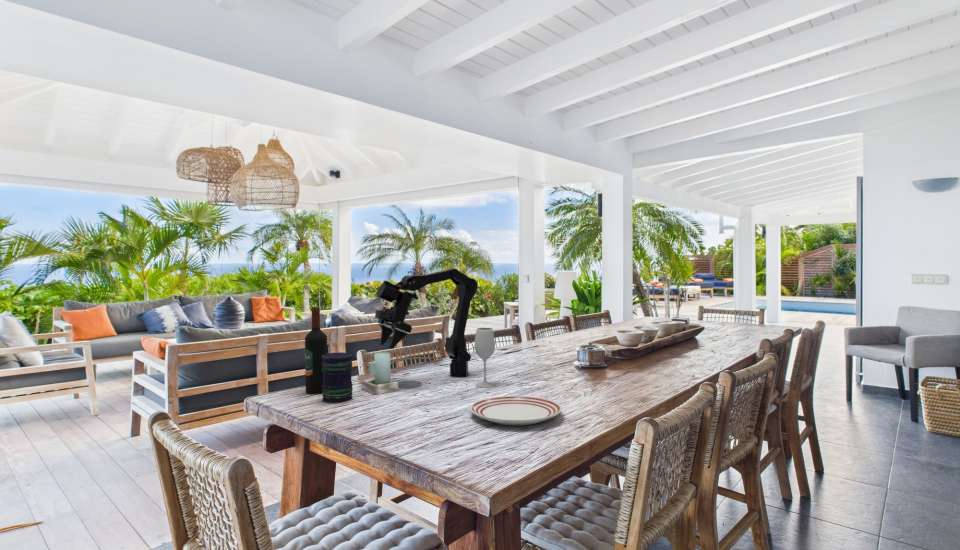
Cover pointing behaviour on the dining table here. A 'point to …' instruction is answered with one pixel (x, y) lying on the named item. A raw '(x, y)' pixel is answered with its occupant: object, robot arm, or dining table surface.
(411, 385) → the grey flat disc
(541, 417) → the dinner plate
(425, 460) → the dining table surface
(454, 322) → the robot arm
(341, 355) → the storage jar
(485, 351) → the wineglass
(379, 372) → the pale green rounded piece
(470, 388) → the dining table surface
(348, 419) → the dining table surface
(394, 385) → the frame
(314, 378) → the wine bottle
